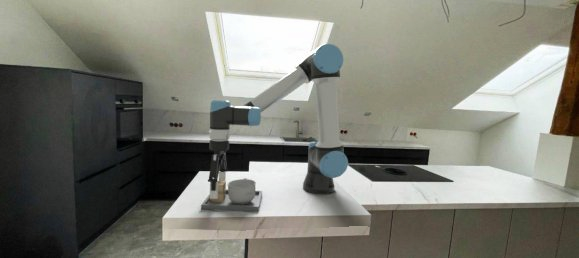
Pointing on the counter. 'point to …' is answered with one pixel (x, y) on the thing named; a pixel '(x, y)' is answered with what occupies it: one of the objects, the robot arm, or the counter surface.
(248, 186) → the teacup
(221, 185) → the oak block
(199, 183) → the counter surface
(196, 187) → the counter surface
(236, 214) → the counter surface
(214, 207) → the tray
